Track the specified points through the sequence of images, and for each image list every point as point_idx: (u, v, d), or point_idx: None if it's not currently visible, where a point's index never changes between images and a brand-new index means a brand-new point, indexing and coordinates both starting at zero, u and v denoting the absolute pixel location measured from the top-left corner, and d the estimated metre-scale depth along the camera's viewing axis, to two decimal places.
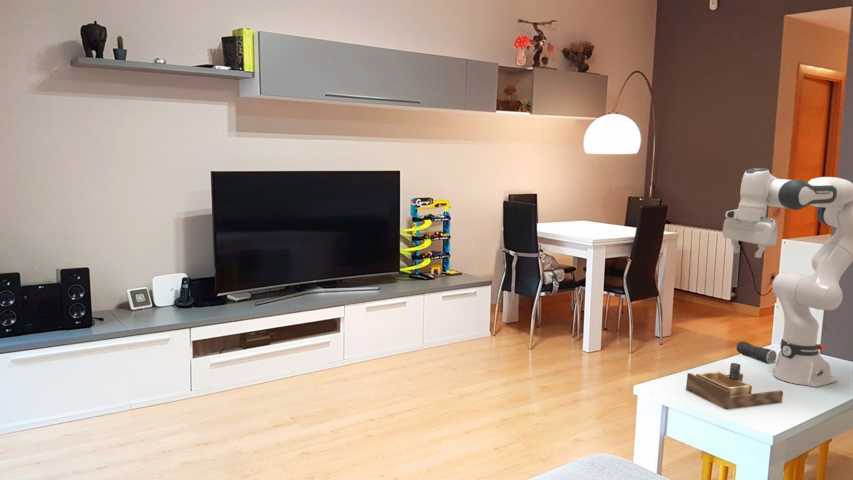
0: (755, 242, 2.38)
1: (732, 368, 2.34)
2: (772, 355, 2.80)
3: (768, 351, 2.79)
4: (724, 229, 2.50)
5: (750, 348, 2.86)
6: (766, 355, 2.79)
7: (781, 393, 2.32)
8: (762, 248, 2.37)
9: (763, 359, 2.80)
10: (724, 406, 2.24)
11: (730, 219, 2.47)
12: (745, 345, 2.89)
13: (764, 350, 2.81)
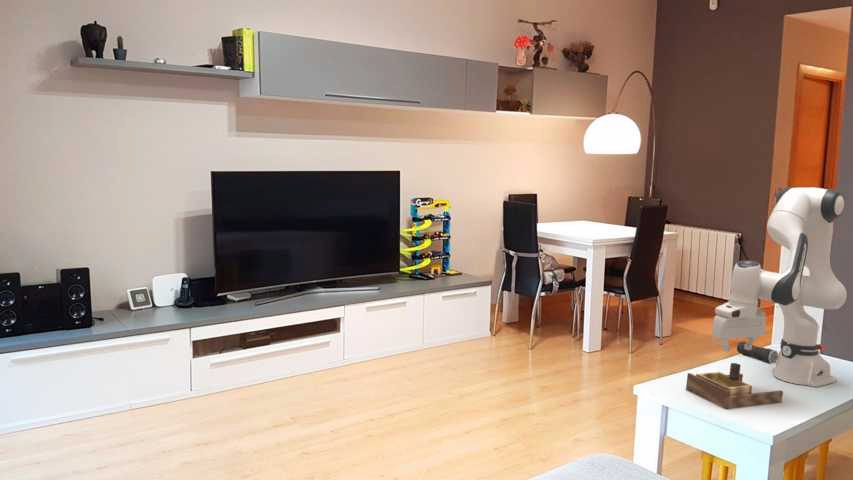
0: (753, 336, 2.33)
1: (732, 368, 2.34)
2: (774, 355, 2.80)
3: (770, 351, 2.79)
4: (723, 330, 2.28)
5: None
6: (768, 355, 2.79)
7: (781, 393, 2.32)
8: None
9: (765, 359, 2.80)
10: (724, 406, 2.24)
11: (732, 319, 2.28)
12: None
13: (766, 350, 2.81)
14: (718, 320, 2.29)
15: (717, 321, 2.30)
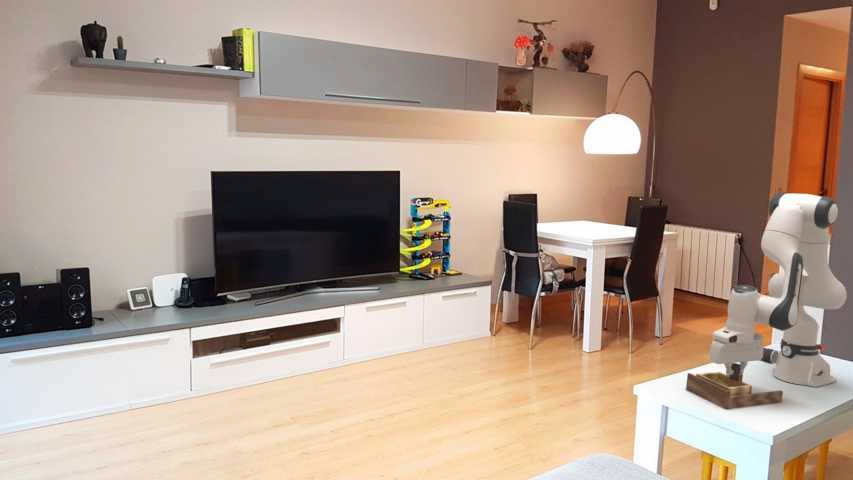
0: (750, 360, 2.35)
1: (732, 368, 2.34)
2: (775, 355, 2.80)
3: (771, 351, 2.79)
4: (720, 355, 2.29)
5: None
6: (770, 355, 2.79)
7: (781, 393, 2.32)
8: None
9: (766, 359, 2.80)
10: (724, 406, 2.24)
11: (730, 344, 2.29)
12: None
13: (767, 350, 2.81)
14: (715, 345, 2.31)
15: (714, 346, 2.31)
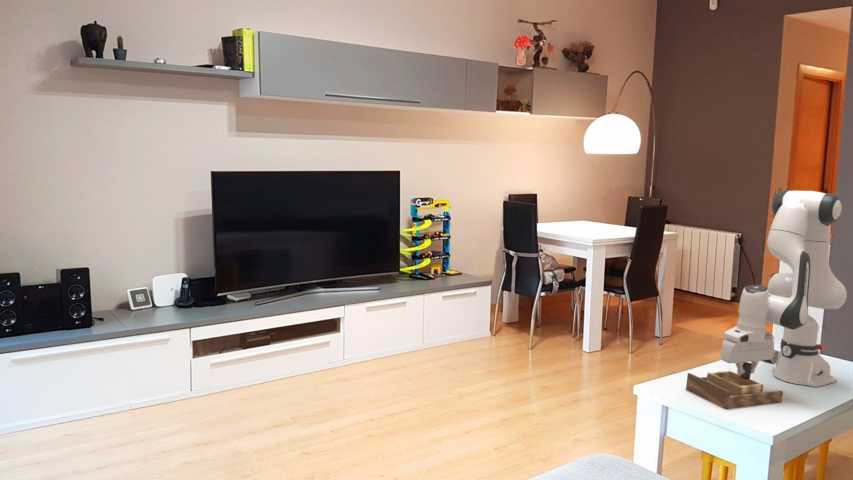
0: (761, 359, 2.37)
1: (743, 367, 2.36)
2: (776, 355, 2.80)
3: None
4: (732, 355, 2.31)
5: None
6: None
7: (781, 393, 2.32)
8: None
9: None
10: (724, 406, 2.24)
11: (741, 343, 2.31)
12: None
13: None
14: (727, 345, 2.32)
15: (725, 345, 2.33)
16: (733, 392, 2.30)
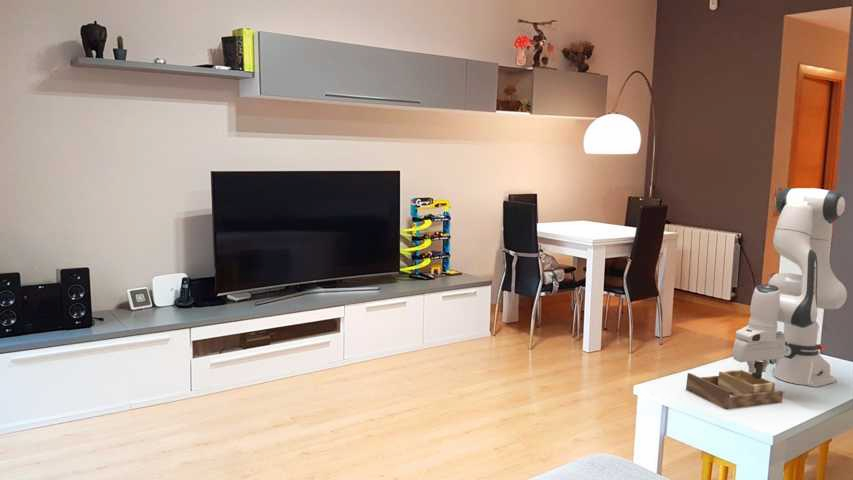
0: (772, 358, 2.38)
1: (755, 366, 2.38)
2: None
3: None
4: (744, 354, 2.33)
5: None
6: None
7: (781, 393, 2.32)
8: None
9: None
10: (724, 406, 2.24)
11: (753, 342, 2.33)
12: None
13: None
14: (739, 344, 2.34)
15: (737, 344, 2.35)
16: (745, 391, 2.32)
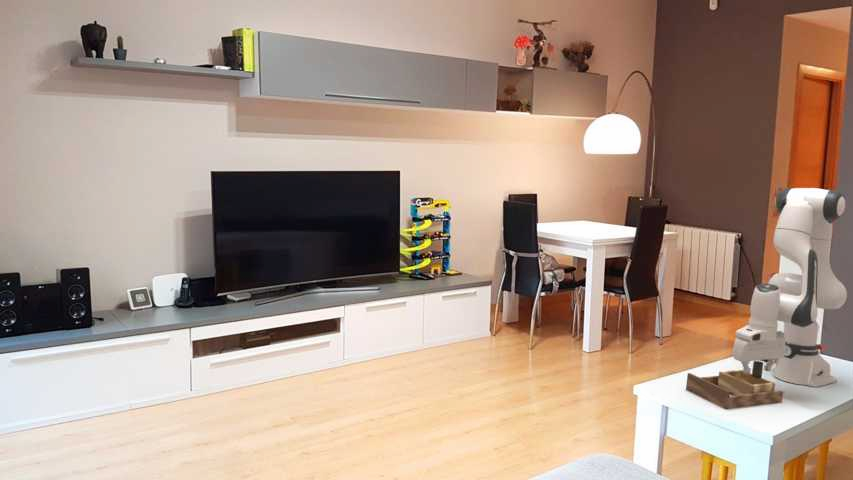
0: (773, 357, 2.38)
1: (755, 366, 2.38)
2: None
3: None
4: (744, 353, 2.33)
5: None
6: None
7: (781, 393, 2.32)
8: None
9: None
10: (724, 406, 2.24)
11: (753, 342, 2.33)
12: None
13: None
14: (739, 343, 2.34)
15: (737, 344, 2.35)
16: (745, 391, 2.32)
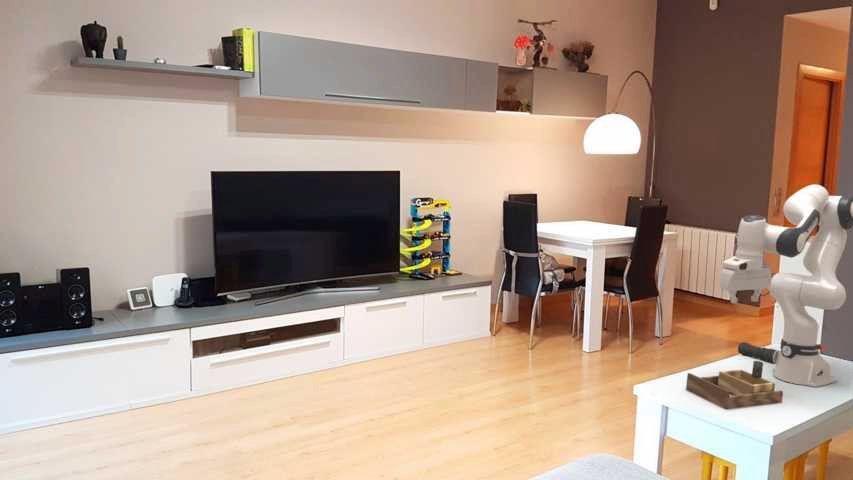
0: (759, 287, 2.43)
1: (755, 366, 2.38)
2: (777, 355, 2.80)
3: (774, 351, 2.79)
4: (731, 282, 2.37)
5: (753, 349, 2.86)
6: (772, 355, 2.79)
7: (781, 393, 2.32)
8: None
9: (769, 359, 2.80)
10: (724, 406, 2.24)
11: (740, 271, 2.37)
12: (747, 346, 2.88)
13: (769, 350, 2.81)
14: (726, 273, 2.39)
15: (725, 274, 2.39)
16: (745, 391, 2.32)
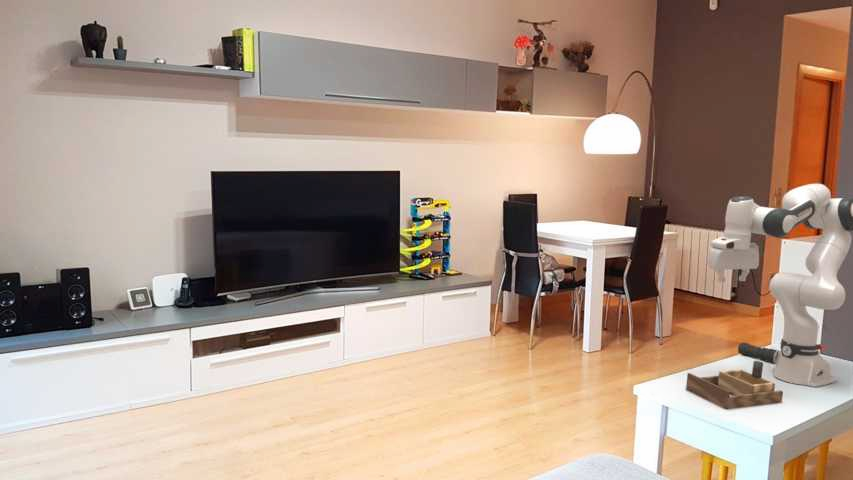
0: (747, 267, 2.48)
1: (755, 366, 2.38)
2: (777, 355, 2.80)
3: (774, 351, 2.79)
4: (718, 261, 2.42)
5: (753, 349, 2.85)
6: (773, 355, 2.79)
7: (781, 393, 2.32)
8: None
9: (769, 360, 2.80)
10: (724, 406, 2.24)
11: (727, 250, 2.42)
12: (747, 346, 2.87)
13: (770, 350, 2.81)
14: (714, 252, 2.44)
15: (712, 253, 2.44)
16: (745, 391, 2.32)
